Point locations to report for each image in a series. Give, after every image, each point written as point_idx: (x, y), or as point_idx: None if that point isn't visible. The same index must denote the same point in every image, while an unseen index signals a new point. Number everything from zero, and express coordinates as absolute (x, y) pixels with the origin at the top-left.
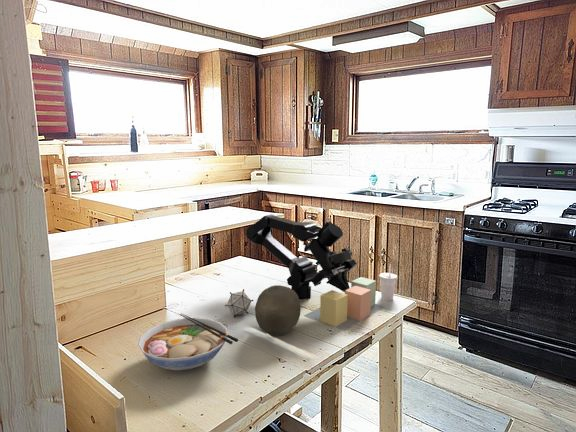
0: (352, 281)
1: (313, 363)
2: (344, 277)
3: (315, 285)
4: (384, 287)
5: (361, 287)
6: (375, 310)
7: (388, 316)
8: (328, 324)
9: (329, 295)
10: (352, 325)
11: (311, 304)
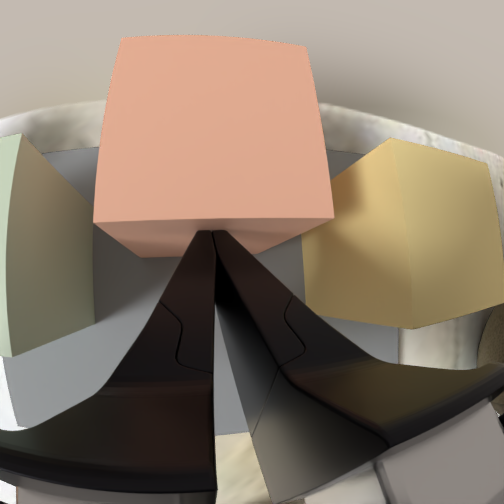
0: (7, 342)
1: (494, 159)
2: (196, 376)
3: (499, 416)
4: None
5: (107, 128)
6: (73, 160)
7: (74, 111)
8: None
9: (482, 253)
10: None
11: (233, 493)
